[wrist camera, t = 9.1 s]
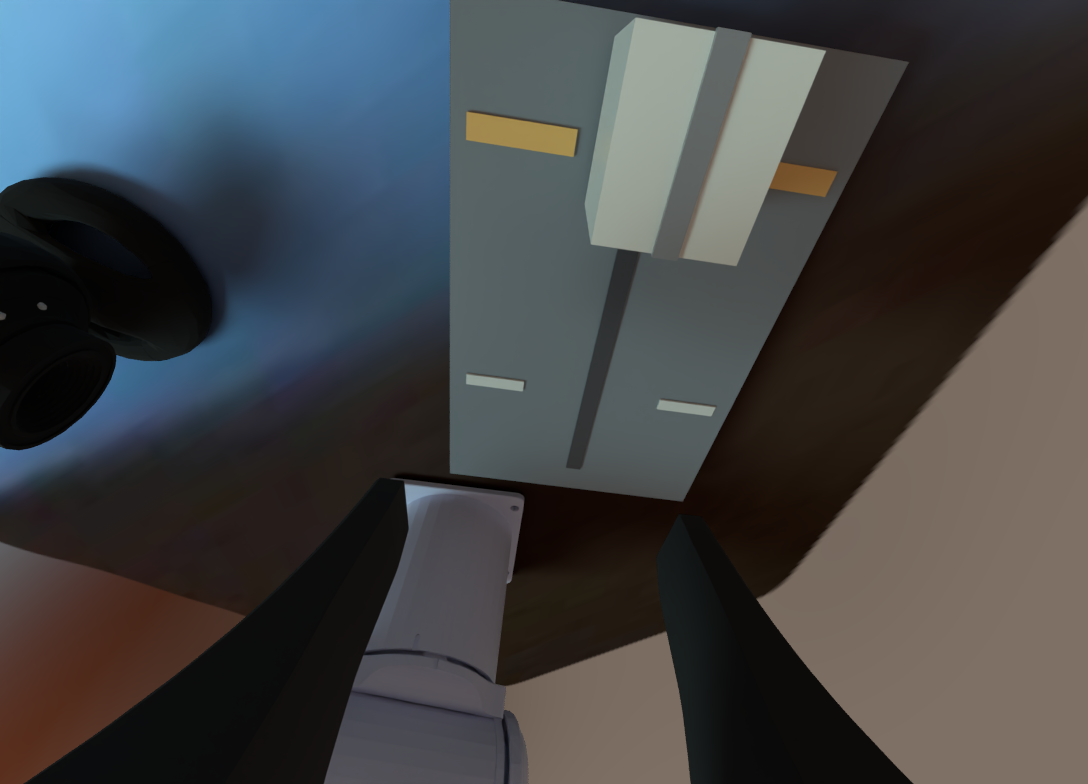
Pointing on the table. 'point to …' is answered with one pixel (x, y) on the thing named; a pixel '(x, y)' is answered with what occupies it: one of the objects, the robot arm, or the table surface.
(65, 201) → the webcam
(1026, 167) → the table surface
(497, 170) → the console
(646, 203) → the fader
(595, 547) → the table surface
